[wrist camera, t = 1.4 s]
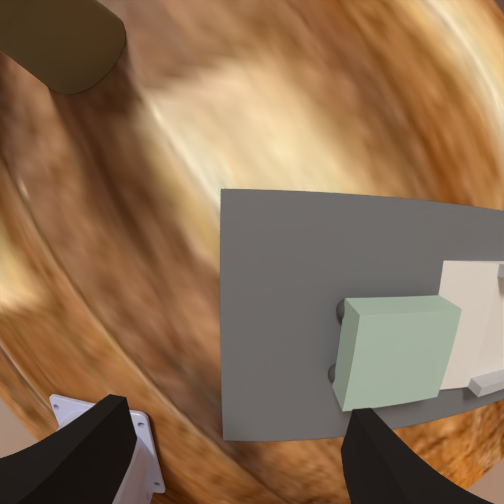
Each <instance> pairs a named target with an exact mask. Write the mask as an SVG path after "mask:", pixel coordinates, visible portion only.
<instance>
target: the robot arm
mask: <svg viewBox="0 0 504 504" xmlns="http://www.w3.org/2000/svg"><path fill="white" fill-rule="evenodd" d="M50 402H51V405H52V408H53V410H54V413H55V416H56V418H57V421H58V424H59V426H60V427H59V428H58V429H57V431H56V432H55V433H53V434H51V435H50V436H48V437H46V438H45V439H43V440H41V441H40V442H38V443H36V444H34V445H32V446H30V447H28V448H26V449H24V450H21V451H19V452H17V453H14V454H12V455H9V456H7V457H3V458H0V504H150V502H151V498H152V494H153V492H157V493H164V492H165V489H166V488H165V484H164V481H163V477H162V473H161V470H160V466H159V462H158V458H157V454H156V450H155V446H154V441H153V437H152V432H151V428H150V423H149V418H148V416H147V415H146V414H145V413H143V412H140V411H134V410H129V407H128V403H127V399H126V397H122V396H117V395H112V394H109V395H108V396H106V397H105V398H104V399H102V400H101V401H99V402H98V403H97V404H95V403H90V402H85V401H81V400H76V399H72V398H68V397H64V396H60V395H56V394H52V395H51V396H50ZM140 422H141V423H143V424H144V425H143V424H141V423H140ZM341 455H342V464H343V471H344V477H345V481H346V485H347V489H348V493H349V497H350V500H351V504H493V503H491V502H488V501H486V500H484V499H482V498H480V497H478V496H476V495H474V494H472V493H470V492H468V491H466V490H464V489H462V488H461V487H459V486H457V485H456V484H454V483H453V482H451V481H450V480H448V479H447V478H445V477H444V476H442V475H441V474H440V473H438V472H437V471H436V470H434V469H433V468H432V467H431V466H429V465H428V464H427V463H426V462H425V461H423V460H422V459H421V458H420V457H419V456H418V455H417V454H415V453H414V452H413V451H412V450H411V449H410V448H409V447H408V446H407V445H406V444H405V443H404V442H403V441H402V440H401V439H400V438H399V437H398V436H397V435H396V434H395V433H394V432H393V431H392V430H391V429H390V428H389V427H388V425H387V424H386V423H385V422H384V421H383V420H382V419H381V418H380V417H379V416H378V415H377V414H376V413H375V412H374V410H373V409H372V408H360V409H353V410H352V413H351V417H350V421H349V424H348V428H347V431H346V435H345V438H344V441H343V445H342V448H341Z"/></svg>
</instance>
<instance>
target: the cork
mask: <svg viewBox="0 0 504 504" xmlns="http://www.w3.org/2000/svg"><path fill="white" fill-rule="evenodd" d="M125 36H126V31H125V28H124V25H123V22H122V21H121V20H120V19H119V18H118V17H117V16H116V15H115V14H114V13H113V12H111V11H110V10H109V9H107V8H106V7H105V6H104V5H102V4H101V3H100V2H98V1H97V0H0V50H2V51H3V52H4V53H5V54H7V55H8V56H9V57H11V58H12V59H13V60H14V61H16V62H17V63H18V64H20V65H21V66H22V67H23V68H25V69H26V70H27V71H28V72H30V73H31V74H32V75H34V76H35V77H36V78H37V79H39V80H40V81H41V82H43V83H44V84H45V85H46V86H48V87H49V88H50V89H52V90H54V91H55V92H57V93H59V94H69V95H71V94H75V93H78V92H82V91H85V90H86V89H88V88H90V87H92V86H93V85H95V84H97V83H98V82H99V81H100V80H101V79H102V78H103V77H105V76H106V75H107V74H108V73H109V72H110V71H111V69H112V68H113V66H114V65H115V64H116V62H117V61H118V59H119V57H120V55H121V53H122V50H123V48H124V45H125Z"/></svg>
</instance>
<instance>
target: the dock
mask: <svg viewBox="0 0 504 504" xmlns="http://www.w3.org/2000/svg"><path fill="white" fill-rule="evenodd" d="M433 295H440V296H441V297H443V298H445V299H446V300H448V301H450V302H451V303H453V304H455V305H456V306H458V307H460V308H461V309H462V311H461V315H460V320H459V324H458V328H457V332H456V336H455V340H454V344H453V348H452V352H451V355H450V359H449V362H448V365H447V369H446V372H445V375H444V378H443V381H442V384H441V387H440V390H439V393H438V396H437V397H434V398H429V399H424V400H419V401H414V402H409V403H403V404H397V405H391V406H384V407H377V408H372V409H373V410H374V412H375V413H376V414H377V415H378V416H379V417H380V418H381V419H382V420H383V421H384V422H385V423H386V424H387V425H388V427H389V428H390V429H396V428H401V427H406V426H411V425H416V424H420V423H425V422H429V421H433V420H437V419H441V418H445V417H448V416H452V415H456V414H459V413H462V412H466V411H469V410H472V409H475V408H479V407H482V406H485V405H488V404H490V403H493V402H496V401H499V400H502V399H504V211H500V210H494V209H487V208H480V207H473V206H465V205H457V204H449V203H441V202H432V201H423V200H414V199H403V198H393V197H381V196H369V195H356V194H341V193H325V192H306V191H283V190H251V189H221V215H220V338H221V386H222V418H223V440H226V441H291V440H309V439H322V438H333V437H343V436H345V435H346V431H347V428H348V424H349V421H350V417H351V413H352V411H343V412H342V409H341V407H340V405H339V402H338V400H337V397H336V395H335V392H334V390H333V387H332V385H333V382H331V381H330V380H329V378H328V370H329V368H330V367H331V366H332V365H333V364H336V361H337V355H338V348H339V341H340V334H341V327H342V319H340V318H339V317H338V315H337V313H336V307H337V304H338V303H339V302H340V301H341V300H342V299H345V298H375V297H408V296H433Z"/></svg>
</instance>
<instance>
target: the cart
mask: <svg viewBox="0 0 504 504" xmlns="http://www.w3.org/2000/svg"><path fill="white" fill-rule="evenodd" d="M461 311H462V309H461V308H460V307H458V306H456V305H455V304H453V303H451V302H450V301H448V300H446V299H445V298H443V297H441V296H440V295H433V296H408V297H375V298H345V299H342V300H341V301H340V302H339V303H338V304H337V307H336V313H337V315H338V317H339V318H340V319H342V327H341V334H340V341H339V348H338V355H337V361H336V364H333V365H332V366H331V367H330V368H329V370H328V378H329V380H330V381H331V382H333V385H332V387H333V390H334V392H335V395H336V397H337V400H338V402H339V405H340V407H341V409H342V412H343V411H352V410H353V409H360V408H377V407H384V406H391V405H397V404H403V403H409V402H414V401H419V400H424V399H429V398H434V397H437V396H438V393H439V390H440V387H441V384H442V381H443V378H444V375H445V372H446V369H447V365H448V362H449V359H450V355H451V352H452V348H453V344H454V340H455V336H456V332H457V328H458V324H459V320H460V315H461Z"/></svg>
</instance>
